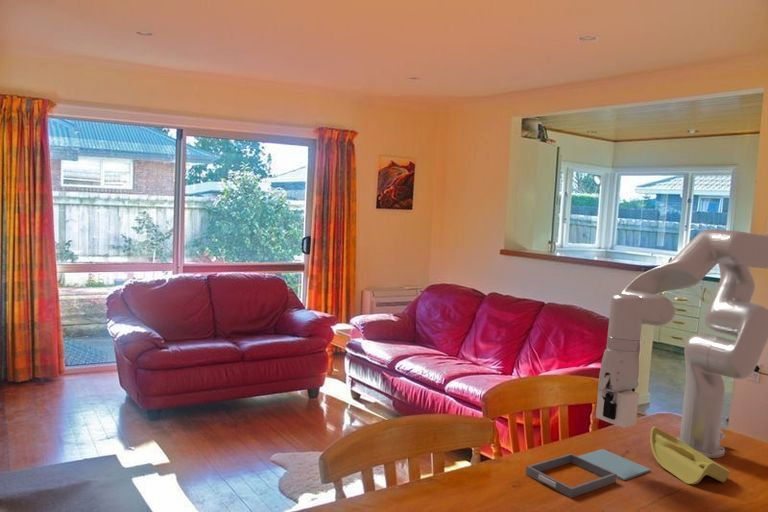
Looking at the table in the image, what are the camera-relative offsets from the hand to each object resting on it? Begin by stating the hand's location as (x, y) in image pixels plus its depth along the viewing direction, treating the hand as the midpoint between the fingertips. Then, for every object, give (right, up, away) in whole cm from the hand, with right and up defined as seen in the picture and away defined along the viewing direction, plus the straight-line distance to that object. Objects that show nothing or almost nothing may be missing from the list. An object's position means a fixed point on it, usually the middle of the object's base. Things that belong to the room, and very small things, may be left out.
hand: (616, 415), depth 155 cm
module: (0, -1, 0) cm, 2 cm away
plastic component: (+18, -14, +2) cm, 23 cm away
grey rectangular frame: (-14, -13, -8) cm, 20 cm away
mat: (0, -13, +1) cm, 13 cm away
